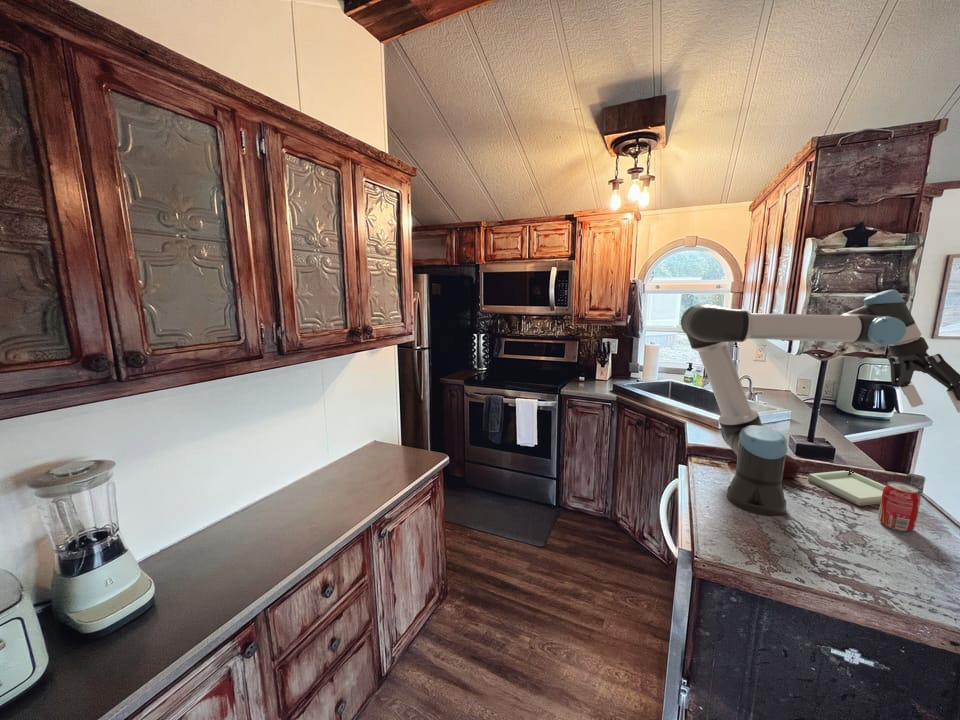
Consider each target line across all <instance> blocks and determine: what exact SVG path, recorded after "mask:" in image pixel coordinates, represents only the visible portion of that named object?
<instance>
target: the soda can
mask: <svg viewBox="0 0 960 720" xmlns="http://www.w3.org/2000/svg"><path fill="white" fill-rule="evenodd" d="M919 492H920V491H919V489H918V488H917V487H915V486H913V485H911V484H909V483H908V484H907V483H904V482H901V481H900V482H898V481H887V484H886V485H885V487H884V489H883V493H882V497H881V503H880V504H879V510H878V520H879V522H881V523H882V524H883V525H884V526H886V527H887V528H889V529H892V530H895V531H899V532H910V531H911V532H912V531H914V529H915V526H916V524H917V520H918V514H919V510H920V505H921V495H920V494H919Z"/></svg>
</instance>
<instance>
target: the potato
mask: <svg viewBox="0 0 960 720" xmlns="http://www.w3.org/2000/svg"><path fill="white" fill-rule="evenodd" d="M800 469H801V467H800V464H799V462H798V461H797V460H796V459H795V458H793V456H790V455H788V454H786V457H785V464H784V471H783V478H791V477H794V476H796V475H797V474H798V472H799V471H800Z"/></svg>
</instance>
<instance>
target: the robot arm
mask: <svg viewBox="0 0 960 720" xmlns="http://www.w3.org/2000/svg"><path fill="white" fill-rule="evenodd" d="M680 326H681V329H682V331H683V332H684V334H685V335H686V337H687V339H688V342H689V345H690V347H691V349H692V350H694V351H696V352H698V355H699V357H700V359H701V362H702V365H703V368H704V370H705V371H704V372H705V374H706V376H707V379H708V381H709V384H710V386H711V387H710V388H711V390H712V393H713V394H714V397H715V400H716V404H717V405H718V409H719V411H720V414H721V415H720V416H719V418H718V422H719V426H720V433H721V437H722V439H723V441H724V442H725V444H726V445H727V446H728V447H730V449H731V450H732V451H733V453H734V454H735V455H736V458H737V459H736V466H735V468H736V469H735V475H734V476H733V478H732V480H731V482H730V484H729V485H728V487H727V490H726V497H727V499H728V501H729V502H730V503H732V504H733V505H734V506H737V507H738V508H740V509H742V510H744V511H748V512H750V513H753V514H757V515H762V516H771V517H773V516H774V517H775V516H781V515H783V514H785V513H786V510H787V500H786V497H785V493H784V490H783V486H782V485H783V484H782V483H783V478H784V477H783V471H784V464H785V457H786V455H787V452H788V441H787V438H786V437H785V436H784V434H783V433H781V432H779V431H778V430H777V429H772V428H771V427H768V426H765V425H764V426H763V423H762V420H761V418H760V416H759V415H760V414H759V413H758V411H756V410H754V409H752V408H751V406H750V403H749V400H748V398H747V395H746V393H745V390H744V387H743V384H742V382H741V379H740V376H739V374H738V371H737V368H736V365H735V363H734V360H733V356H732V355H731V351H730V348H729V346H728V343H735V342H736V343H744V342H745V341H747V340H769V341H770V340H773V341H774V340H775V341H777V340H778V341H804V342H805V341H807V342H831V343H833V344H836V343H840V342H841V343H856V344H857V343H859V344H873V345H876V346H877V345H878V346H887V349H888V351H889V353H890V355H891V357H888V358H887V360H888V362H889V366H890V367H889V368H890V382H891V384H892V385H894V386H895V385H897V386H898V387H899V388H900V389H901V391H902V393H903V394H904V395H905V397H906V399H907V401H908V403H909V404H910V406H911V408H917V407H919V406H922V405H924V402H923V400H922V398H921V396H920V394H919V392H918V390H917V388H916V387H915V385H914V384H913V383H912V378H913V375H914V372H922V373H923V374H927V375H929V376H930V377H931V378H933V379H934V380H935V381H937V382H938V383H940V384H941V385H943V386H944V387H945V388H947V389H946V393H947V395H948V397H949V399H950V400H951V403H952V404H953V406H954V408H955V411H957V413H959V414H960V373H959V372H958V371H957V370H956V369H954V368H953V367H952V365H950V364H949V363H948V362H947V361H946V360H945V359H944V358H943V356H942V354H940V353H936V354H933V355H929V354H928V350H929V347H930V346H929V345H928V343H927V341H926V339H925V337H922V332H921V331H920V329H919V327H918V325H917V324H916V321H915V319H914V317H913V315H912V314H911V311H910V309H909V307H908V305H907V304H906V300H904V298H903V296H902V294H900V292H899V291H898V290H897V289H888V290H884V291H880V292H877V293H873V294H872V295H869V296H867V297H865V298H863V305H862V306H861V307H858V308H855V309H853V310H850V311H847V312H844V313H841V314H810V313H809V314H808V313H807V314H805V313H804V314H803V313H800V314H798V313H761V312H759V313H757V312H756V313H752V312H751V313H750V312H749V311H748V309H734V308H728V307H723V306H720V305H719V306H718V305H714V304H710V303H698V304H694V305H692V306H690V307H688V308H687V309H686V310H684V312H683V314H682V316H681V318H680Z"/></svg>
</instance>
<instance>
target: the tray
mask: <svg viewBox="0 0 960 720" xmlns="http://www.w3.org/2000/svg"><path fill="white" fill-rule="evenodd" d="M852 472H853V471H852ZM852 472H850V473H851V475H848V474H849V471H845V470H836V471H835V470H834V471H826V472H816V473H815V472H814V473H808V478H807V481H808V482H810V483H812V484H814V485H816V486H818V487H820V488H822V489H825V490H826V491H828V492H830V493H832V494H835V495H837V496H838V497H841V498H843V499H844V500H846V501H848V502H850V503H852V504H855V505H856V506H858V507H861V506H871V505H880V503H881V497H882V493H883V489H884V487H885V486H886V484H882V483H880V482H878V481H875V480H873V479H871V478H868V477H865V476H863V475H861V474H858V472H857V473H856V472H854V473H852Z"/></svg>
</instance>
